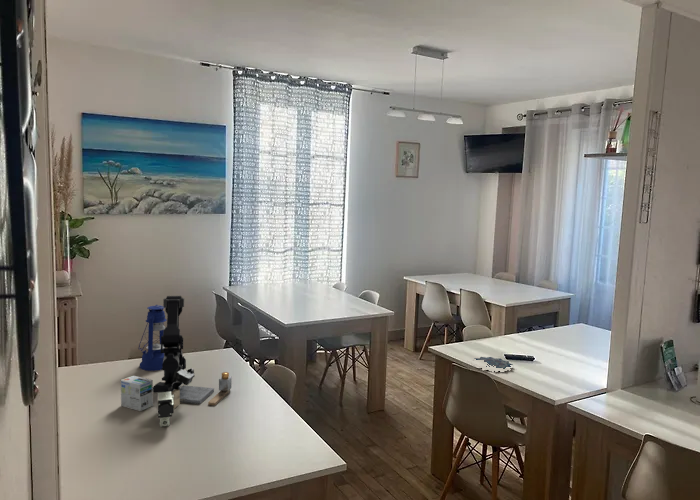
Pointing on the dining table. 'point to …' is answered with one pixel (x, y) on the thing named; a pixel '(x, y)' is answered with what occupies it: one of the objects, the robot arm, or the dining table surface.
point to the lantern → (153, 356)
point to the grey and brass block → (225, 382)
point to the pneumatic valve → (165, 407)
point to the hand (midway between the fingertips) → (171, 402)
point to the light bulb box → (136, 393)
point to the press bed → (200, 395)
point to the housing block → (176, 397)
